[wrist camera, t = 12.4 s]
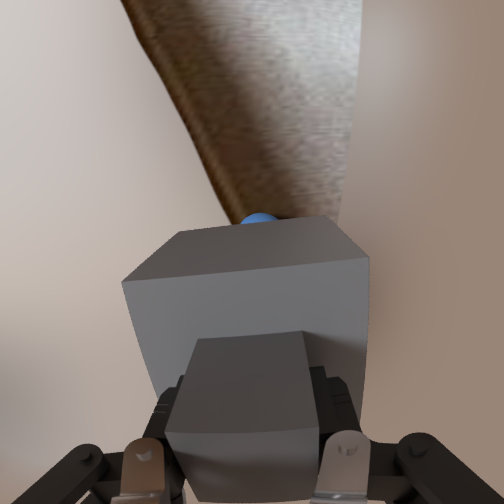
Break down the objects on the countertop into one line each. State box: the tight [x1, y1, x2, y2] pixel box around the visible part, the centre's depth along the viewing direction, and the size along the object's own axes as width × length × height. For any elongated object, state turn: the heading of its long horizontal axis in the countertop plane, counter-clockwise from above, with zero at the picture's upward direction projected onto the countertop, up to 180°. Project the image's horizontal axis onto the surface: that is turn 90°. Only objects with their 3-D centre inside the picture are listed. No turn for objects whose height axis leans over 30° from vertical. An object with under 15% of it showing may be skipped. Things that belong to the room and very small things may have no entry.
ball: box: [241, 213, 278, 224], centre depth 32 cm, size 5×5×5 cm
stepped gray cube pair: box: [121, 215, 369, 503], centre depth 14 cm, size 9×9×14 cm
